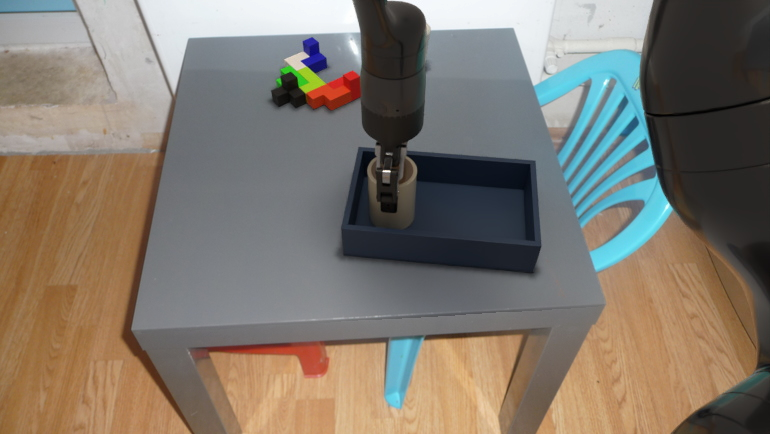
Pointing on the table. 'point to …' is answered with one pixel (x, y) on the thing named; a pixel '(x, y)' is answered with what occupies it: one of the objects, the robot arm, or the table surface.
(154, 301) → the table surface
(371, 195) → the cup
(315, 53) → the building blocks
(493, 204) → the navy tray
